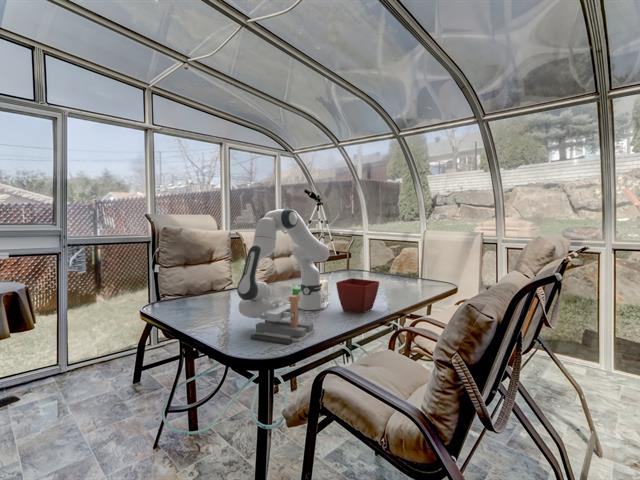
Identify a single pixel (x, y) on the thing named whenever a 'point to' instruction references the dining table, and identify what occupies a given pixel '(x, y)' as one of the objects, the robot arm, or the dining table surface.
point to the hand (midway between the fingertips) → (296, 313)
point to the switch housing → (284, 329)
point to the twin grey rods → (271, 339)
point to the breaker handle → (294, 309)
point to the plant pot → (357, 294)
